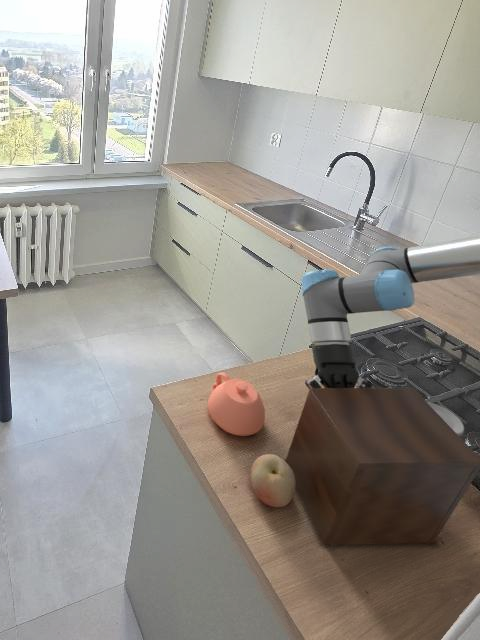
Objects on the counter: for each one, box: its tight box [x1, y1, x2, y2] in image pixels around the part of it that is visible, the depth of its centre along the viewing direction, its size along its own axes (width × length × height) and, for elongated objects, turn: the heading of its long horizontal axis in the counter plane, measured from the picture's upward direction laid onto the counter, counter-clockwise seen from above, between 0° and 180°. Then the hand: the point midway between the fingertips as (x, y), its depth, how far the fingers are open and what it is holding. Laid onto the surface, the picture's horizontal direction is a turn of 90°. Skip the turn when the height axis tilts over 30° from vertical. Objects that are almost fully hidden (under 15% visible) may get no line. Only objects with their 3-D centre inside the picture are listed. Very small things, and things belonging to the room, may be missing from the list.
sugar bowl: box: [207, 371, 266, 437], centre depth 94 cm, size 12×14×10 cm
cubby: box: [284, 387, 480, 546], centre depth 75 cm, size 20×15×21 cm
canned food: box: [426, 401, 465, 439], centre depth 87 cm, size 8×8×11 cm
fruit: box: [249, 453, 297, 508], centre depth 78 cm, size 8×8×8 cm
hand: (354, 474), depth 78 cm, fingers closed
